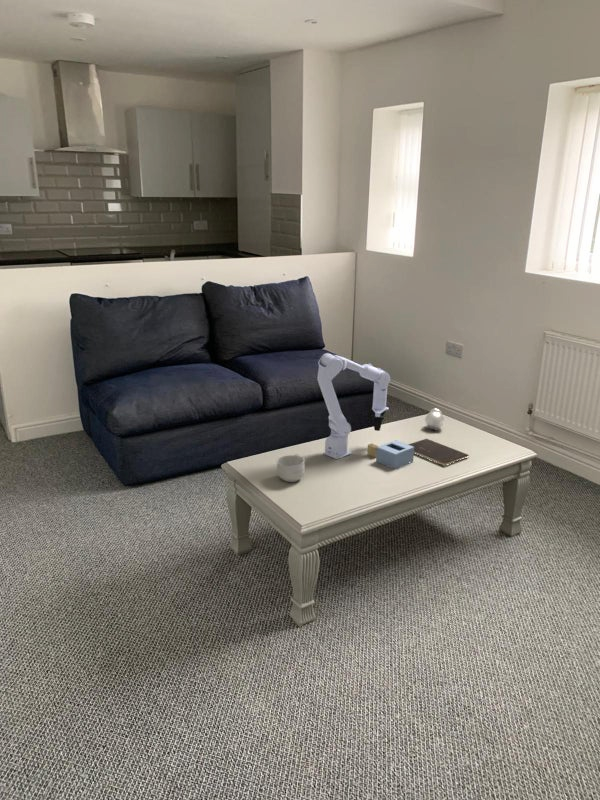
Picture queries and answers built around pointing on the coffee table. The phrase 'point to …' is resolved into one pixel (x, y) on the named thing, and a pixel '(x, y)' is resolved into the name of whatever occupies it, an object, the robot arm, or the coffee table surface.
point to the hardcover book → (437, 452)
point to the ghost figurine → (434, 419)
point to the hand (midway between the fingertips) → (377, 427)
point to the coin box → (395, 454)
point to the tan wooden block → (372, 450)
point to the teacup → (291, 467)
